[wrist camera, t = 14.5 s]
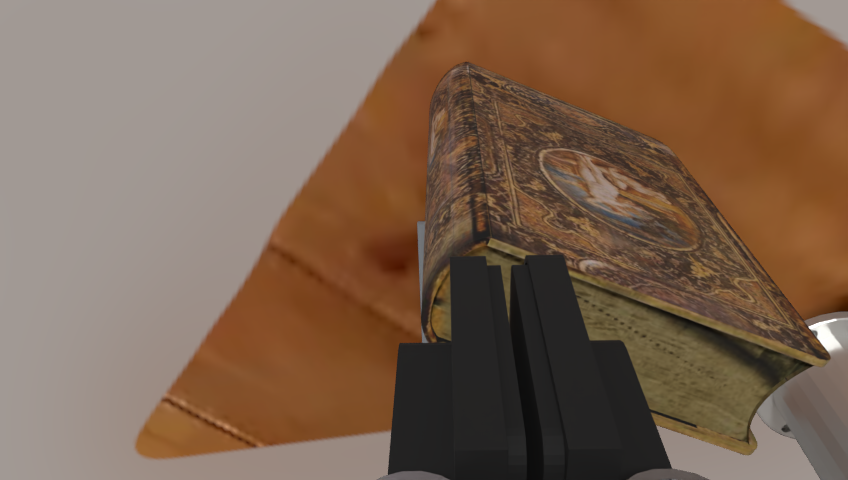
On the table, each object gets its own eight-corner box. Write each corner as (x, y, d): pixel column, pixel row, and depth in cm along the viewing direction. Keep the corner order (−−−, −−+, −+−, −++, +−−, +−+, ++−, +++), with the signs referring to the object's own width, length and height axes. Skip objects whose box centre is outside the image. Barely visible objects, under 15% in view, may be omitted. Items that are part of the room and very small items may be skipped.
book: (419, 127, 50) (403, 340, 28) (449, 54, 48) (458, 224, 26) (627, 208, 53) (761, 461, 31) (666, 143, 51) (842, 366, 28)
